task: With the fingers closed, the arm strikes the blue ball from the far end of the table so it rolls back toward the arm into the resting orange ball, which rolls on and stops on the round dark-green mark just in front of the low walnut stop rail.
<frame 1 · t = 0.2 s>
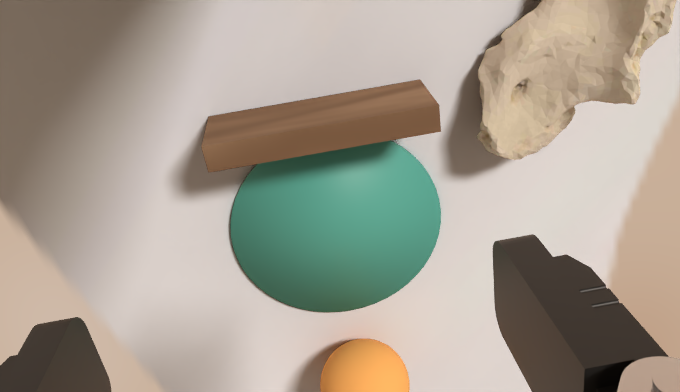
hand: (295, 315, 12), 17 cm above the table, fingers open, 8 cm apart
orange ball: (364, 384, 33), on the table
coral: (549, 34, 28), on the table
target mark: (337, 227, 31), on the table
stop rail: (316, 109, 28), on the table
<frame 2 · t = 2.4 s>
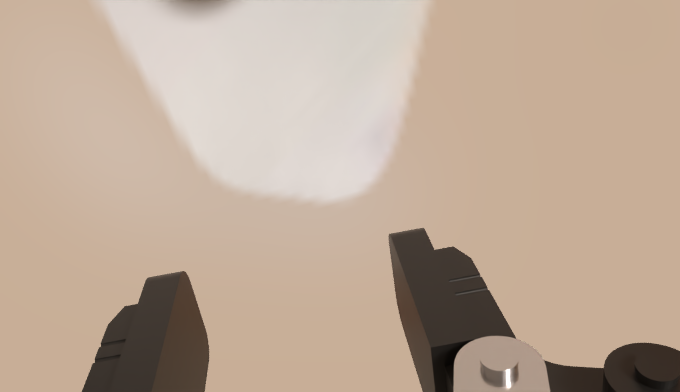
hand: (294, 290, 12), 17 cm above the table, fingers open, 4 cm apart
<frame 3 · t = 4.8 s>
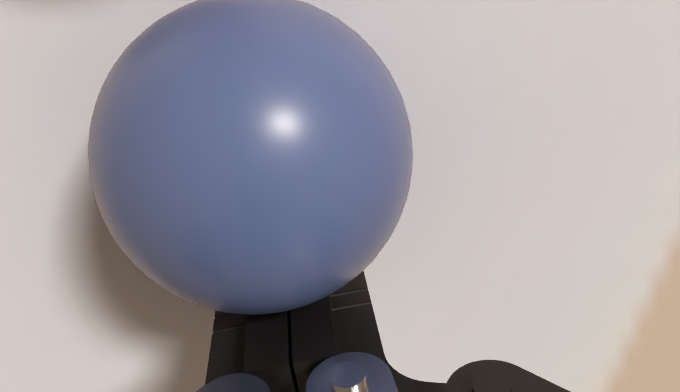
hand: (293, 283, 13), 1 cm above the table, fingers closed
blue ball: (256, 156, 10), on the table, touching gripper
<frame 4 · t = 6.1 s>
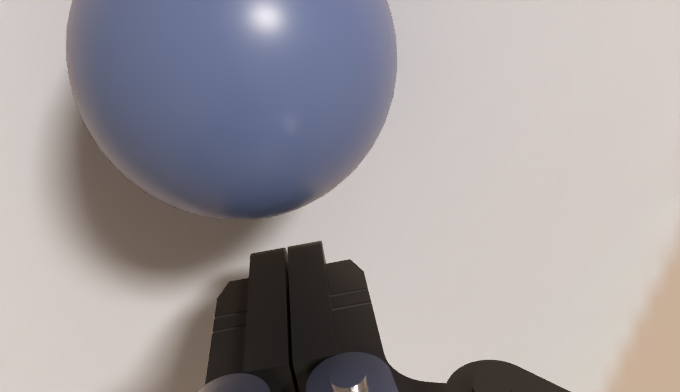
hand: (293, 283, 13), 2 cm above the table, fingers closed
blue ball: (239, 62, 9), on the table
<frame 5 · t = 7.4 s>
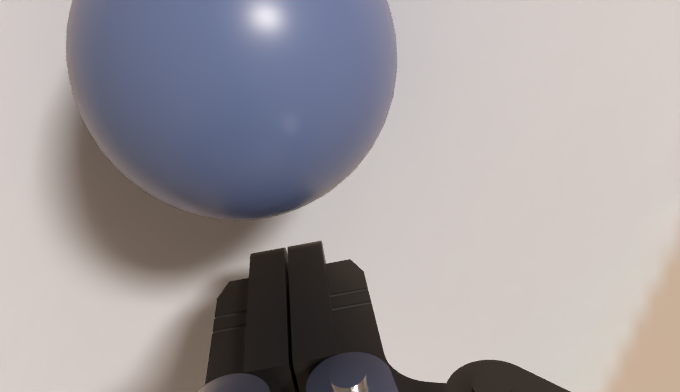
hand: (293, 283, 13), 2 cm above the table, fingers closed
blue ball: (239, 62, 9), on the table
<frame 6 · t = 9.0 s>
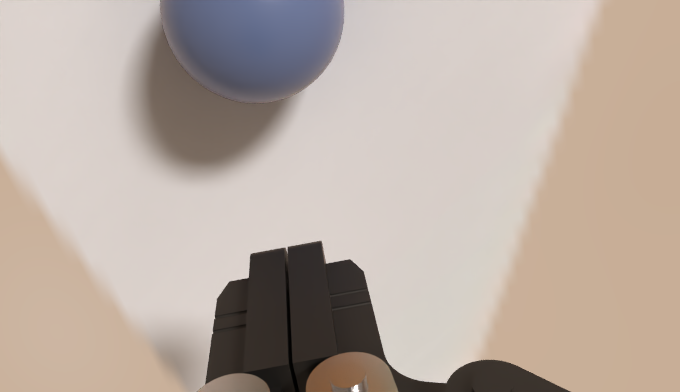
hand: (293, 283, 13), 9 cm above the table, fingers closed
blue ball: (254, 12, 16), on the table
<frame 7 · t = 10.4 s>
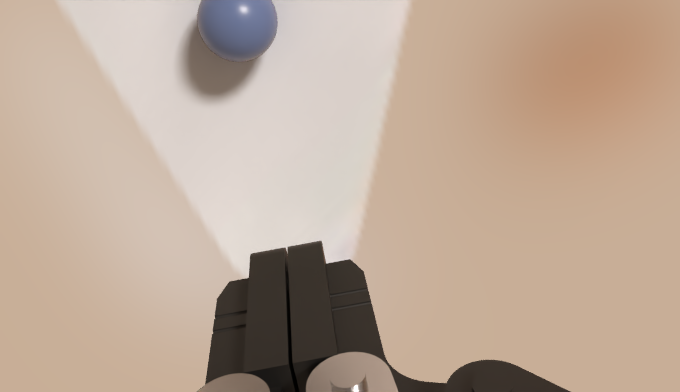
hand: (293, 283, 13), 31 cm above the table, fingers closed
blue ball: (237, 21, 37), on the table
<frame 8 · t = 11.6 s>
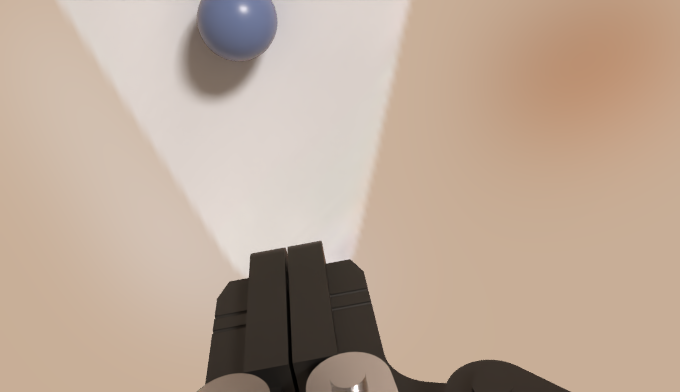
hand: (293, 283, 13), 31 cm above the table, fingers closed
blue ball: (237, 20, 37), on the table
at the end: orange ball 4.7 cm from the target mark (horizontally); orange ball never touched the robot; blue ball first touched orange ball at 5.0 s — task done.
